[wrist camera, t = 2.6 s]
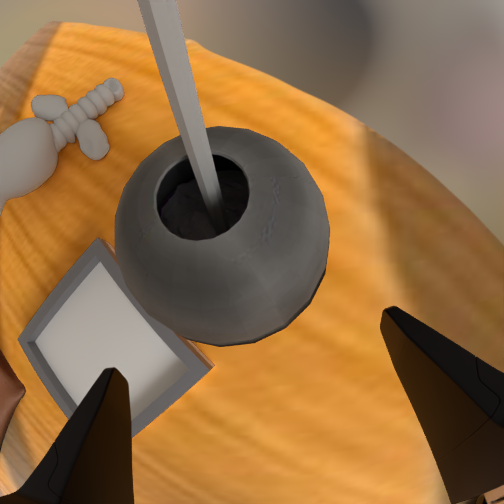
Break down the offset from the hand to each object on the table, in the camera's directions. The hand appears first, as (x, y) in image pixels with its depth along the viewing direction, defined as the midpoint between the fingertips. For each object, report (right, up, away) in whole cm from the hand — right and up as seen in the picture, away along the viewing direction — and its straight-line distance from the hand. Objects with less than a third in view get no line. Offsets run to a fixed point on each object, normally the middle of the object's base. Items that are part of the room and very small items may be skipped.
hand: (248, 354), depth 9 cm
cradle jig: (-12, -5, +12) cm, 17 cm away
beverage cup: (0, +1, +13) cm, 13 cm away
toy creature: (-20, +13, +16) cm, 29 cm away
